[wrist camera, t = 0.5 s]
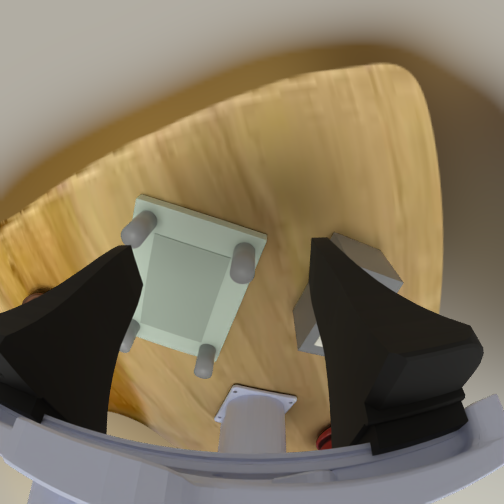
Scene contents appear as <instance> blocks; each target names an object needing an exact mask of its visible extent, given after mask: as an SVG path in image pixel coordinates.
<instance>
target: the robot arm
mask: <svg viewBox="0 0 504 504" xmlns="http://www.w3.org/2000/svg"><path fill="white" fill-rule="evenodd" d="M142 288H143V282H142V279H141V276H140V273H139V269H138V266H137V263H136V260H135V257H134V253H133V250H132V247H131V245H121V246H117V247H115V248H113V249H111V250H110V251H108V252H106V253H105V254H103V255H102V256H100V257H99V258H97V259H96V260H95V261H93V262H92V263H90V264H89V265H87V266H86V267H85V268H83V269H82V270H80V271H79V272H77V273H76V274H74V275H73V276H71V277H70V278H69V279H67V280H66V281H64V282H63V283H61V284H59V285H58V286H56V287H55V288H53V289H51V290H50V291H48V292H46V293H44V294H43V295H41V296H39V297H37V298H35V299H33V300H31V301H29V302H27V303H25V304H23V305H20V306H18V307H16V308H13V309H11V310H8V311H6V312H3V313H0V456H2V457H3V459H4V461H5V463H6V464H8V465H9V466H11V467H12V468H13V469H15V470H17V471H18V472H20V473H21V474H23V475H25V476H26V477H28V478H30V479H31V480H33V483H32V487H31V491H30V494H29V499H28V503H27V504H431V503H433V502H435V501H438V500H440V499H442V498H445V497H447V496H449V495H451V494H453V493H455V492H458V491H460V490H462V489H464V488H466V487H467V486H469V485H471V484H473V483H475V482H477V481H478V480H480V479H482V478H484V477H486V476H487V475H489V474H491V473H492V472H494V471H496V470H497V469H499V468H500V467H502V466H504V410H503V407H502V405H501V403H500V400H499V398H498V396H497V394H493V395H491V396H489V397H486V398H484V399H481V400H479V401H477V402H475V403H472V404H470V405H469V406H467V407H466V408H465V409H464V407H463V405H462V402H461V401H462V400H463V399H464V398H465V393H464V391H463V389H462V387H463V385H464V384H465V383H466V382H467V381H468V379H469V378H470V377H471V376H472V374H473V373H474V372H475V370H476V369H477V367H478V366H479V364H480V363H481V359H482V356H483V353H484V352H483V347H482V345H481V343H480V342H479V340H478V338H477V336H476V334H475V333H474V331H473V330H472V328H471V326H470V325H467V324H464V323H461V322H458V321H455V320H452V319H449V318H446V317H444V316H441V315H439V314H437V313H434V312H432V311H430V310H427V309H425V308H423V307H421V306H419V305H417V304H415V303H413V302H411V301H410V300H408V299H406V298H404V297H402V296H401V295H399V294H397V293H396V292H394V291H392V290H391V289H389V288H388V287H386V286H385V285H383V284H382V283H380V282H379V281H378V280H376V279H375V278H373V277H372V276H371V275H370V274H368V273H367V272H366V271H365V270H363V269H362V268H361V267H360V266H358V265H357V264H356V263H355V262H354V261H353V260H352V259H350V258H349V257H348V256H347V255H346V254H345V253H344V252H343V251H342V250H340V249H339V248H338V247H337V246H336V245H335V244H334V243H333V242H332V241H331V240H330V239H328V238H311V255H310V269H309V288H310V296H311V303H312V307H313V311H314V315H315V318H316V322H317V326H318V330H319V334H320V338H321V342H322V346H323V350H324V355H325V361H326V370H327V378H328V389H329V400H330V416H331V445H332V449H325V450H316V451H305V452H291V453H286V434H285V413H286V412H287V411H288V410H289V409H290V408H291V407H292V405H293V404H294V403H295V402H296V401H297V397H296V396H291V395H285V394H279V393H274V392H269V391H264V390H259V389H254V388H249V387H245V386H240V385H233V386H232V388H231V390H230V392H229V393H228V395H227V397H226V399H225V400H224V402H223V404H222V406H221V407H220V409H219V411H218V413H217V414H216V416H215V418H214V420H215V421H216V422H221V429H220V438H219V447H218V452H207V451H196V450H186V449H178V448H171V447H164V446H158V445H152V444H147V443H142V442H136V441H132V440H127V439H123V438H119V437H115V436H111V435H107V434H106V432H107V412H108V403H109V395H110V389H111V383H112V378H113V373H114V369H115V365H116V360H117V356H118V353H119V350H120V347H121V345H122V342H123V340H124V337H125V335H126V332H127V330H128V328H129V325H130V323H131V320H132V318H133V316H134V313H135V311H136V308H137V306H138V303H139V300H140V296H141V292H142Z"/></svg>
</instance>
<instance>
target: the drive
mask: <svg viewBox="0 0 504 504" xmlns="http://www.w3.org/2000/svg"><path fill="white" fill-rule="evenodd" d="M330 240H331V241H332V242H333V243H334V244H335V245H336V246H337V247H338V248H339V249H340V250H342V251H343V252H344V253H345V254H346V255H347V256H348V257H349V258H350V259H352V260H353V261H354V262H355V263H356V264H357V265H358V266H360V267H361V268H362V269H363V270H365V271H366V272H367V273H368V274H370V275H371V276H372V277H373V278H375V279H376V280H378V281H379V282H380V283H382V284H383V285H385V286H386V287H388V288H389V289H391V290H392V291H394V292H396V293H397V292H398V291H399V289H400V288H401V286H402V285H403V281H402V280H401V278H400V277H399V275H398V274H397V273H396V271H395V270H394V268H393V267H392V266H391V264H390V263H389V262H388V260H387V259H386V257H385V256H384V255H383V253H382V252H381V251H380V250H378V249H376V248H373V247H371V246H368V245H366V244H363V243H361V242H358V241H356V240H353V239H351V238H348V237H346V236H343V235H340V234H338V233H335V232H334V233H333V235H332V237H331V239H330ZM293 315H294V323H295V331H296V339H297V347H298V351H302V352H307V353H311V354H316V355H321V356H325V355H324V350H323V346H322V342H321V338H320V334H319V330H318V326H317V322H316V318H315V315H314V311H313V307H312V303H311V296H310V288H309V282H308V284H307V286H306V287H305V289H304V291H303V293H302V295H301V297H300V298H299V300H298V302H297V304H296V306H295V308H294V309H293Z"/></svg>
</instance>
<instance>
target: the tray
mask: <svg viewBox="0 0 504 504" xmlns="http://www.w3.org/2000/svg"><path fill="white" fill-rule="evenodd" d="M121 239H122V241H123V243H124V244H125V245H131V247H132V250H133V253H134V257H135V260H136V263H137V266H138V269H139V273H140V276H141V279H142V282H143V288H142V292H141V296H140V300H139V303H138V306H137V308H136V311H135V313H134V316H133V318H132V320H131V323H130V325H129V328H128V330H127V332H126V335H125V337H124V340H123V342H122V345H121V347H120V350H119V351H121V352H124V353H127V352H129V351H130V348H131V346H132V344H133V342H134V340H135V338H136V336H137V337H140V338H142V339H145V340H148V341H151V342H154V343H157V344H159V345H162V346H165V347H168V348H172V349H175V350H178V351H181V352H184V353H187V354H191V355H194V356H197V360H196V365H195V369H194V374H195V375H196V376H197V377H199V378H203V379H207V378H210V377H211V376H212V371H213V365H214V361H215V362H216V360H217V358H218V356H219V353H220V351H221V349H222V346H223V344H224V341H225V339H226V337H227V334H228V332H229V330H230V327H231V325H232V323H233V320H234V318H235V316H236V313H237V311H238V308H239V306H240V304H241V301H242V299H243V297H244V294H245V292H246V289H247V287H248V285H249V282H251V281H252V280H253V278H254V275H255V268H256V266H257V263H258V261H259V258H260V256H261V254H262V251H263V249H264V246H265V244H266V241H267V235H266V234H263V233H260V232H257V231H254V230H251V229H248V228H245V227H242V226H239V225H236V224H233V223H230V222H227V221H224V220H221V219H218V218H215V217H212V216H209V215H205V214H202V213H199V212H196V211H193V210H190V209H187V208H184V207H181V206H177V205H174V204H171V203H168V202H165V201H162V200H158V199H155V198H152V197H149V196H146V195H142V194H141V195H140V196H138V197H137V198H136V202H135V208H134V213H133V219H132V221H131V222H130V223H129V224H128V225H127V226H126V227H125V228H124V229H123V230H122V232H121Z"/></svg>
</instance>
